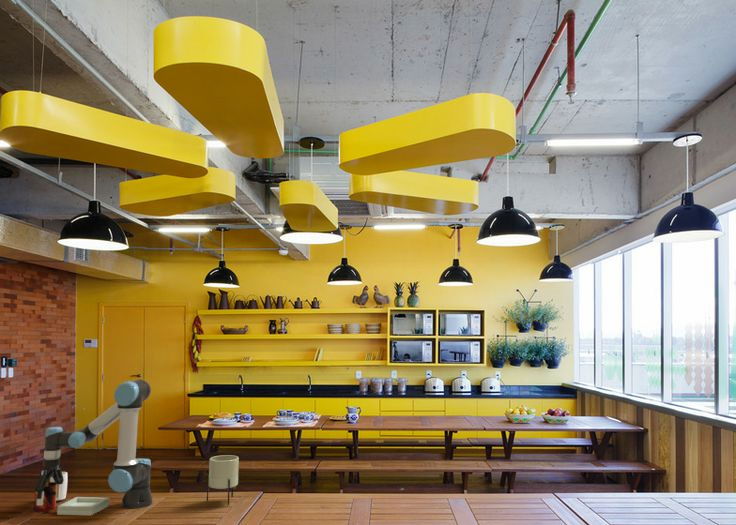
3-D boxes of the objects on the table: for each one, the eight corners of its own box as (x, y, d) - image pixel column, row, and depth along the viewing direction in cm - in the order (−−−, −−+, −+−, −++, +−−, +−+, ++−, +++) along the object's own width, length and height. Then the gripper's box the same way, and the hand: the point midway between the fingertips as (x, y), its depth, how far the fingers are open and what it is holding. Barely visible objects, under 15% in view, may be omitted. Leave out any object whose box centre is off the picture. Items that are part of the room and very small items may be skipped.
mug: (53, 513, 281) (55, 487, 282) (29, 511, 283) (31, 486, 285) (66, 507, 290) (68, 483, 292) (43, 505, 293) (45, 481, 294)
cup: (44, 502, 298) (46, 474, 299) (55, 498, 306) (57, 471, 308) (58, 503, 296) (60, 475, 298) (69, 499, 304) (71, 471, 306)
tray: (109, 505, 293) (109, 497, 293) (92, 515, 277) (92, 507, 278) (75, 504, 294) (76, 496, 295) (57, 514, 278) (57, 506, 279)
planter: (243, 500, 304) (245, 456, 307) (225, 508, 290) (226, 462, 293) (221, 497, 310) (222, 453, 313) (201, 504, 296) (203, 459, 299)
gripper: (59, 453, 303) (56, 494, 300) (28, 463, 278) (24, 508, 275) (73, 453, 302) (69, 494, 300) (43, 463, 278) (39, 508, 275)
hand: (48, 501), depth 287 cm, fingers open, 13 cm apart
